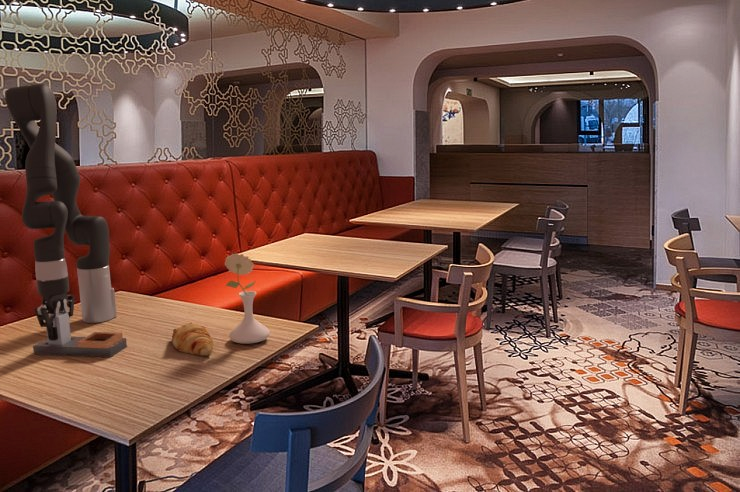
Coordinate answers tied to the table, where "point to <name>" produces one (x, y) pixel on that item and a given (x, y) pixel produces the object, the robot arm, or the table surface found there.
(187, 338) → the croissant
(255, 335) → the flower in vase
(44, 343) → the socket
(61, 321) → the peg
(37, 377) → the table surface
